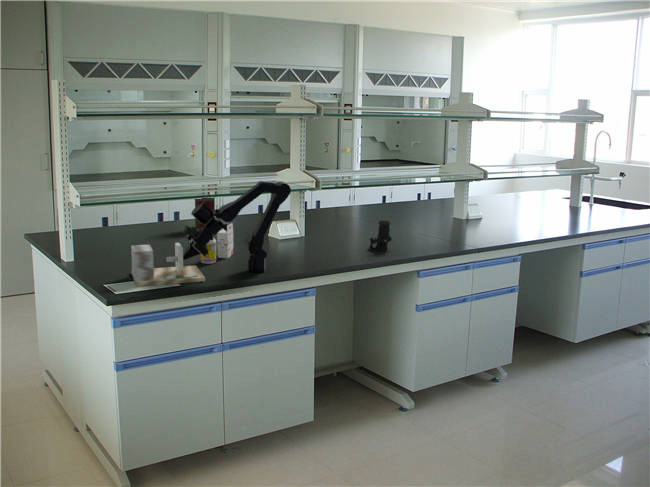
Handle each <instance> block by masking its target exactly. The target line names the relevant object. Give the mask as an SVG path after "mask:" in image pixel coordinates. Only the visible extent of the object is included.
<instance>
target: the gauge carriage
mask: <svg viewBox="0 0 650 487" xmlns="http://www.w3.org/2000/svg"><path fill="white" fill-rule="evenodd" d="M174 254H175V255H174V256H166V263H173V262H175V263H174V264H175V266H174V267H176V271H177V272H178V274H179V275H182V276H184V273H183V266H184V261H183V254H184V247H183V245H181V243H180V242H175V243H174Z"/></svg>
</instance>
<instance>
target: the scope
mask: <svg viewBox="0 0 650 487" xmlns="http://www.w3.org/2000/svg"><path fill="white" fill-rule="evenodd" d="M378 224H379V225H378V230H377V231H378V233H377V237H375V238H374V237H373V232H370V237H369V243H368V244H369V247H368V248H369V249H370V250H371V251H372V252H375V251H381V252H382V251H383V252H384V251H385V252H386V251H388V245H389V244H388V243H389V242H391V241H392V239H393V238H392V236H390V234H391V233H390V232H391V231H390V229H391V228H390V225H391V221H389V220H379V221H378Z"/></svg>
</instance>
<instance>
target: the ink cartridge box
mask: <svg viewBox="0 0 650 487" xmlns="http://www.w3.org/2000/svg"><path fill="white" fill-rule="evenodd" d="M233 224H234V223H233V222H232V223H231V222H230V224H227V231H225V230H224V229H223V228H222V229H221V230H220V231H219V232H218V233H217V234H216V236H217V239H216V243H217V259H218V258H219V259H229V258H231V256H233V255H234V226H233Z"/></svg>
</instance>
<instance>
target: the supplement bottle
mask: <svg viewBox="0 0 650 487" xmlns="http://www.w3.org/2000/svg"><path fill="white" fill-rule="evenodd" d="M213 239H214V240H213V241H212V240H211V241H210V242H209V243H208V244H207V245H206V246H207V247H206V248H207V249H208V254H207V255H206V256H204V255H203V254H200V263H201V264H206V265H210V264H211V265H212V264H215V263H216V262H217V239H215V238H214V237H213Z"/></svg>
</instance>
